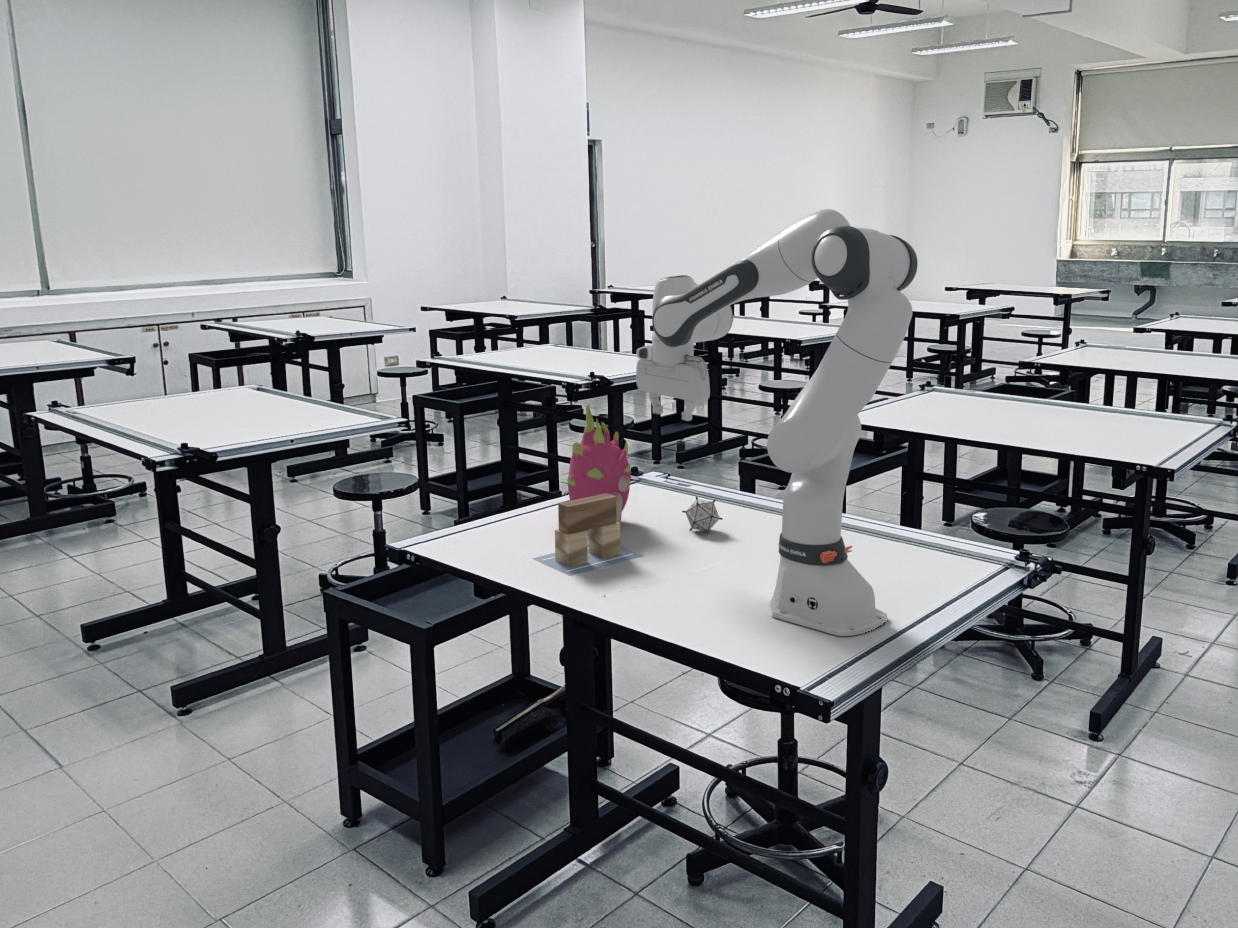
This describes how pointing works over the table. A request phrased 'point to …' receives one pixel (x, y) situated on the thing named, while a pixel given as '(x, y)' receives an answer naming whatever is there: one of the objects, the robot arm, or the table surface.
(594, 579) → the table surface
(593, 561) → the blueprint board
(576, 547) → the pillar left
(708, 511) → the game die
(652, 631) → the table surface
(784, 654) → the table surface
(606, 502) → the walnut lintel
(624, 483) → the pink dragon fruit
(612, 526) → the pillar right
